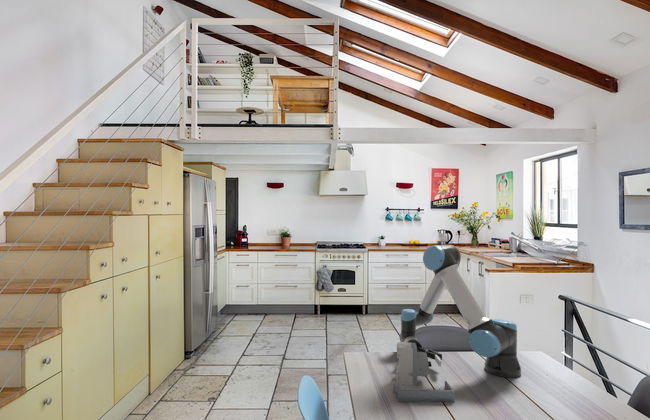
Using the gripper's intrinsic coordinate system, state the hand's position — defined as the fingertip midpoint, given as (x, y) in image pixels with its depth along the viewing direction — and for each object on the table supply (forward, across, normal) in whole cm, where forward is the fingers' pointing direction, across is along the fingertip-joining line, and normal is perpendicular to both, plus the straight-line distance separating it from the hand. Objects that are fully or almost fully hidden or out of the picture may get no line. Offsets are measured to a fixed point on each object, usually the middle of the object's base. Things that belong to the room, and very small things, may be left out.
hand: (424, 363), depth 164 cm
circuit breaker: (+4, +6, -6) cm, 10 cm away
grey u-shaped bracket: (+18, +6, -6) cm, 19 cm away
